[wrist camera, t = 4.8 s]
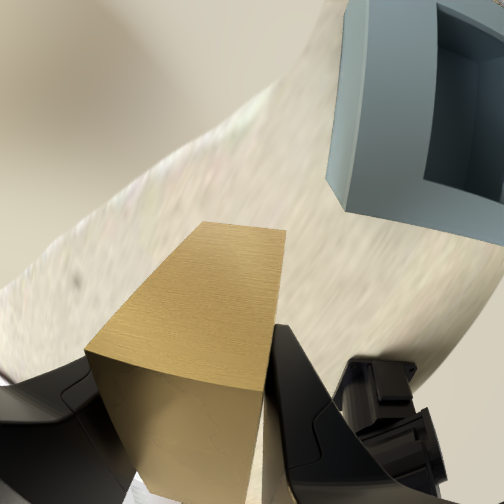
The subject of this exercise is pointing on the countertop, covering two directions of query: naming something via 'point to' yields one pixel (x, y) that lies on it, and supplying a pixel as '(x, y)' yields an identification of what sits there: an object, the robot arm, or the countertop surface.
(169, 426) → the block
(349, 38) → the coin box
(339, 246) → the countertop surface
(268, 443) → the robot arm
